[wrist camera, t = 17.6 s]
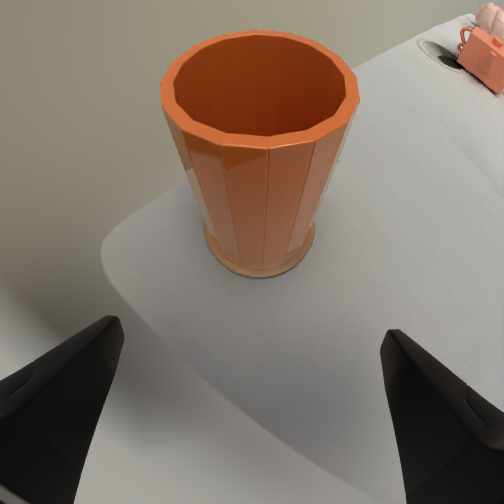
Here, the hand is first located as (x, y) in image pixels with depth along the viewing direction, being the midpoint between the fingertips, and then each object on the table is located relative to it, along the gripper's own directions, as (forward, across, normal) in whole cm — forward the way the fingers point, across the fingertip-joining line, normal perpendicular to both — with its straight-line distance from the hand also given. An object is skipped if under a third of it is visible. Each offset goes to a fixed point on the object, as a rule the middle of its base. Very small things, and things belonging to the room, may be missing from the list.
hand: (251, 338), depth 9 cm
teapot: (+35, -34, -19) cm, 53 cm away
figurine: (+50, -51, -35) cm, 80 cm away
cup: (+13, 0, +1) cm, 13 cm away
